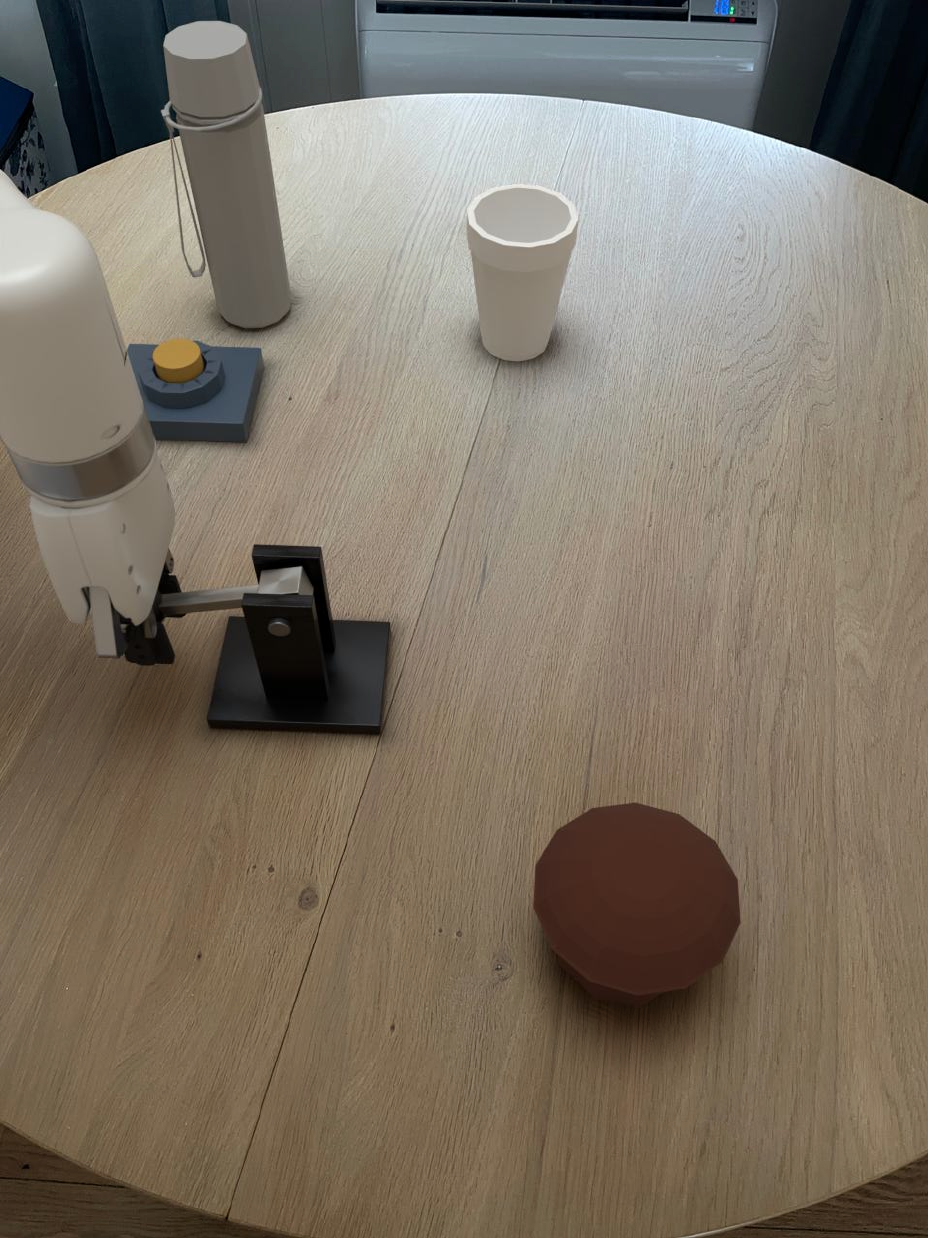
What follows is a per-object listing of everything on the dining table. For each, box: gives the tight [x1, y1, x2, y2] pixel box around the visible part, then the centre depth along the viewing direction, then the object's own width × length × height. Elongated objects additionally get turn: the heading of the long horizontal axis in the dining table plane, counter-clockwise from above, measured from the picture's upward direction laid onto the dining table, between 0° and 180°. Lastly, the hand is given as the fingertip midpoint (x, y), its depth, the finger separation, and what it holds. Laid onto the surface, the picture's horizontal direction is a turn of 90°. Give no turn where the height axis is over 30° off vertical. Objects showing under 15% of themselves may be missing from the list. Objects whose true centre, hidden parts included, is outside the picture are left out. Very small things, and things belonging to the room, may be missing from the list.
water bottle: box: [160, 20, 292, 329], centre depth 90 cm, size 9×8×25 cm
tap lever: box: [120, 566, 314, 623], centre depth 68 cm, size 13×3×3 cm, turn 88°
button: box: [153, 337, 204, 384], centre depth 89 cm, size 4×4×2 cm
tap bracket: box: [206, 543, 392, 736], centre depth 70 cm, size 12×9×12 cm
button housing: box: [126, 340, 265, 443], centre depth 91 cm, size 12×10×4 cm
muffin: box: [532, 802, 742, 1009], centre depth 60 cm, size 12×11×10 cm
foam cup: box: [466, 183, 579, 362], centre depth 93 cm, size 10×9×13 cm
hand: (158, 635), depth 71 cm, fingers closed on tap lever, 3 cm apart
